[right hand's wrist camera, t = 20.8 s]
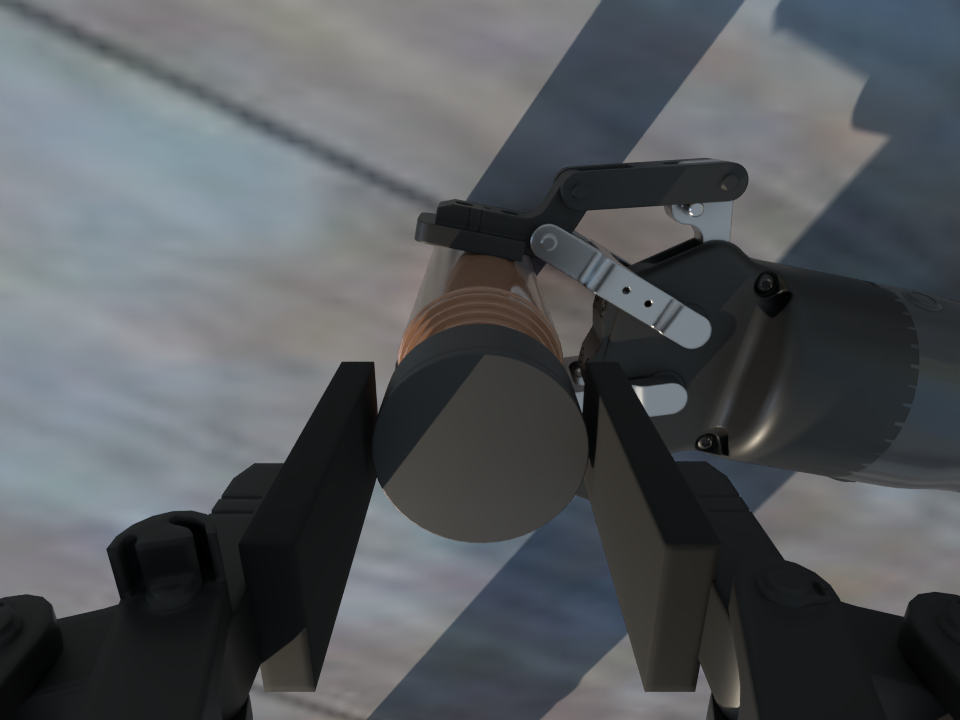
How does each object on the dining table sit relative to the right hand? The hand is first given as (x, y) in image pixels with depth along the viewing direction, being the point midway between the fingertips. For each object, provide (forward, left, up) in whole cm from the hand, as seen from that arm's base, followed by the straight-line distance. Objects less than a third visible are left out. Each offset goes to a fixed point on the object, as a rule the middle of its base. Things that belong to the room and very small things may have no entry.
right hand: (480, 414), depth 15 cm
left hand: (-1, -2, -8) cm, 9 cm away
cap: (0, 0, +2) cm, 2 cm away
